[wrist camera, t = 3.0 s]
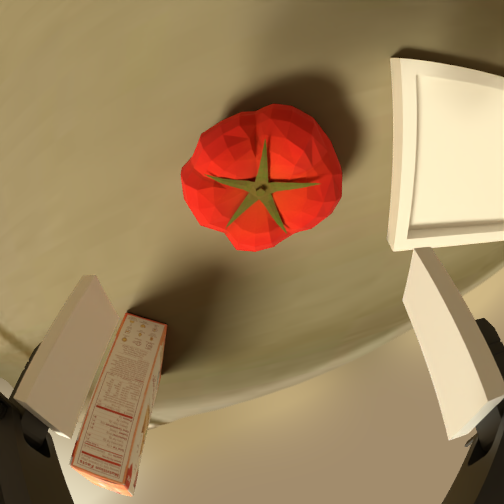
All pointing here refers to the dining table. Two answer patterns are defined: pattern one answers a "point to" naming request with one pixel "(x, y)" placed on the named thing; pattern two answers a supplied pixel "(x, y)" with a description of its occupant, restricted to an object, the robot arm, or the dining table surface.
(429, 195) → the tray
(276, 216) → the tomato
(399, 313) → the dining table surface
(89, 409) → the cracker box
